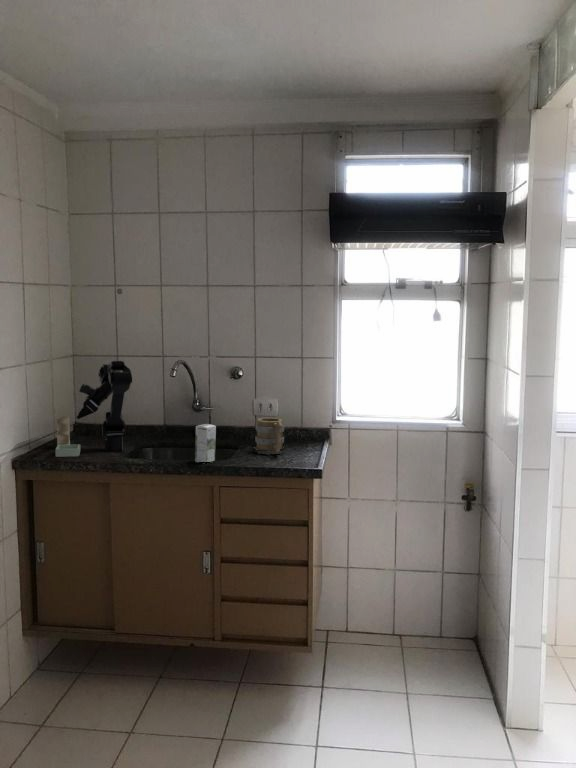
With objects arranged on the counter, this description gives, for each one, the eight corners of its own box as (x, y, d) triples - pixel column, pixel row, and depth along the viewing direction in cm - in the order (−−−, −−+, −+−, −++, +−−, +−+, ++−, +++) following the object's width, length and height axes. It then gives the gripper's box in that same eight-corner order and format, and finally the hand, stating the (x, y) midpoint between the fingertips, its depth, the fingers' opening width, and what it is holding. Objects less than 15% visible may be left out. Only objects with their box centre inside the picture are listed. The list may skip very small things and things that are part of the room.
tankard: (251, 449, 281) (251, 415, 279) (279, 448, 285) (279, 414, 283) (264, 459, 262) (264, 422, 260) (293, 458, 266) (294, 422, 264)
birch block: (69, 447, 277) (69, 416, 276) (68, 449, 273) (68, 418, 271) (58, 447, 276) (58, 416, 274) (57, 449, 272) (56, 418, 270)
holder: (80, 451, 269) (80, 444, 268) (78, 456, 260) (78, 448, 260) (58, 452, 267) (58, 444, 266) (55, 456, 258) (55, 449, 258)
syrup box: (203, 459, 260) (204, 423, 258) (215, 461, 257) (216, 425, 255) (194, 462, 255) (195, 425, 254) (206, 464, 252) (207, 427, 251)
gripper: (92, 375, 287) (66, 400, 286) (89, 379, 269) (61, 406, 268) (110, 393, 290) (85, 418, 289) (109, 398, 272) (81, 425, 271)
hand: (78, 416), depth 279 cm, fingers open, 9 cm apart
